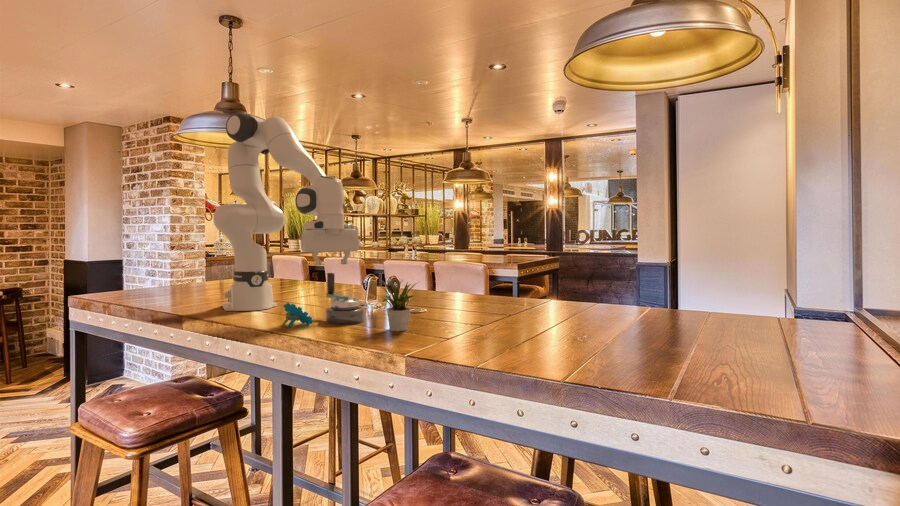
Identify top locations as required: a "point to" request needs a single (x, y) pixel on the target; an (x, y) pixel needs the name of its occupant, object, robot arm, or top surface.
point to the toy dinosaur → (296, 315)
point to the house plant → (398, 307)
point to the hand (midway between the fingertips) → (331, 264)
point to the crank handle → (339, 297)
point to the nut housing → (345, 316)
